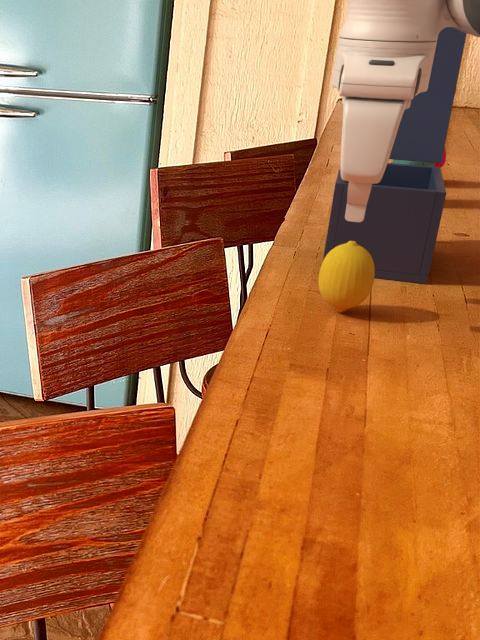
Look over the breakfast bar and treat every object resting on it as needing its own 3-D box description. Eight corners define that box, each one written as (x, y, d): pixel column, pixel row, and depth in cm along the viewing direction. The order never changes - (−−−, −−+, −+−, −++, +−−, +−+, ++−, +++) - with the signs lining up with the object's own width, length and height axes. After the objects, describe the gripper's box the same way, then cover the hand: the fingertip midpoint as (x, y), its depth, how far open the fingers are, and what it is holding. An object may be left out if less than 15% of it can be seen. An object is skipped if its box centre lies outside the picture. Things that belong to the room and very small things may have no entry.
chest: (426, 284, 105) (446, 192, 101) (321, 271, 109) (335, 183, 105) (423, 249, 119) (440, 166, 114) (329, 239, 123) (342, 159, 118)
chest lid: (468, 24, 110) (467, 25, 110) (365, 21, 114) (365, 22, 115) (441, 163, 114) (440, 163, 115) (342, 155, 118) (342, 155, 119)
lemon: (371, 323, 93) (386, 249, 90) (317, 319, 94) (329, 246, 91) (361, 305, 98) (374, 235, 95) (309, 302, 99) (321, 232, 96)
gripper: (353, 60, 96) (332, 187, 102) (340, 78, 79) (315, 229, 85) (416, 63, 94) (391, 192, 100) (416, 82, 77) (386, 237, 82)
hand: (356, 210), depth 92 cm, fingers open, 8 cm apart
